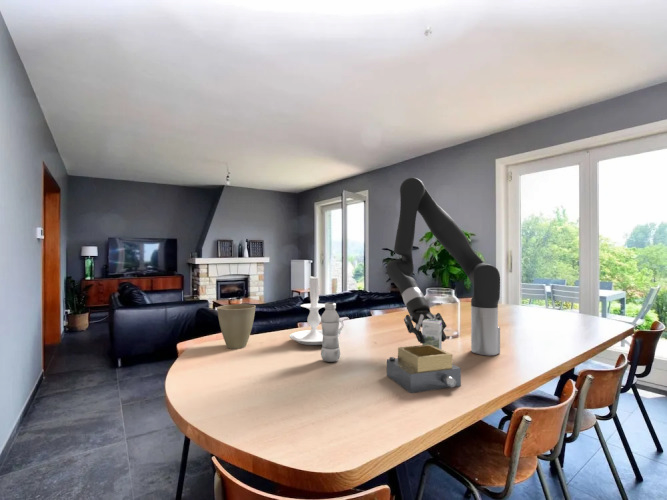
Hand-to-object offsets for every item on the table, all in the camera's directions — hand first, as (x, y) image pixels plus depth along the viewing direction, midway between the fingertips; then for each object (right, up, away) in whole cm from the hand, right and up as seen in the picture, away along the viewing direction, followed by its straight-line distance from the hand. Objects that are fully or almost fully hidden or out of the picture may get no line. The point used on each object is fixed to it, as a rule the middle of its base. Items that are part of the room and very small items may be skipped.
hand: (433, 341), depth 118 cm
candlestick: (-40, -8, +29) cm, 50 cm away
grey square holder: (-7, -7, -17) cm, 20 cm away
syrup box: (0, -8, +1) cm, 8 cm away
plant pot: (-73, -8, +23) cm, 76 cm away
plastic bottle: (-35, -8, +3) cm, 36 cm away
